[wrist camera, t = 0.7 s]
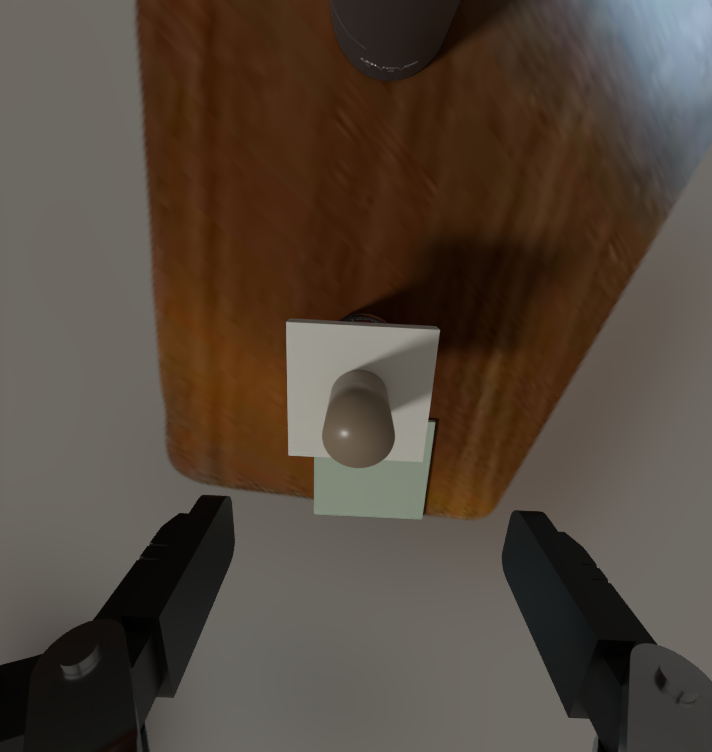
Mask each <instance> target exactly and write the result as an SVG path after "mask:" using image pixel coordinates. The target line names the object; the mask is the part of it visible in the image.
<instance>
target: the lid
mask: <svg viewBox="0 0 712 752" xmlns="http://www.w3.org/2000/svg"><path fill="white" fill-rule="evenodd" d="M439 334H440V329H439V328H438V327H437V326H423V325H403V324H384V323H365V322H345V321H326V320H307V319H289V320H288V321H287V322H286V342H287V400H288V455H291V456H310V457H330V458H333V459H334V460H335V461H337V462H338V463H340V464H342V465H344V466H347V467H351V468H366V467H370V466H373V465H376V464H378V463H379V462H381V461H382V460H390V461H410V462H423V456H424V448H425V441H426V433H427V426H428V418H429V410H430V403H431V395H432V388H433V380H434V372H435V365H436V357H437V349H438V342H439Z"/></svg>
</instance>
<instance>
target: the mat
mask: <svg viewBox="0 0 712 752" xmlns="http://www.w3.org/2000/svg"><path fill="white" fill-rule="evenodd" d="M434 429H435V420H428V426H427V433H426V441H425V448H424V456H423V462H410V461H390V460H382V461H381V462H379V463H378V464H376V465H373V466H370V467H366V468H351V467H347V466H344V465H342V464H340V463H338V462H337V461H335V460H334V459H333V458H330V457H314V514H322V515H343V516H344V515H345V516H363V517H386V518H405V519H422V516H423V509H424V502H425V494H426V487H427V480H428V473H429V465H430V458H431V451H432V443H433V436H434Z"/></svg>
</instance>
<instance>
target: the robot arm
mask: <svg viewBox="0 0 712 752" xmlns="http://www.w3.org/2000/svg"><path fill="white" fill-rule="evenodd" d="M459 3H460V0H330V7H331V14H332V21H333V28H334V31H335V34H336V37H337V40H338V43H339V45H340V47H341V48H342V50H343V52H344V54H345V56H346V57H347V58H348V59H349V61H350V62H351V63H352V64H353V65H354V66H355V67H356V68H357V69H359V70H360V71H361V72H362V73H364V74H366V75H368V76H370V77H372V78H374V79H379V80H384V81H394V80H401V79H404V78H407V77H410V76H412V75H414V74H415V73H417V72H418V71H420V70H422V69H423V68H424V67H425V66H426V65H427V64H428V63H429V62H430V61H431V60H432V59H433V58H434V56H435V55H436V53H437V52H438V50H439V49H440V47H441V45H442V43H443V41H444V39H445V37H446V35H447V32H448V30H449V27H450V25H451V22H452V20H453V17H454V15H455V12H456V10H457V8H458V5H459ZM234 537H235V536H234V523H233V511H232V501H231V498H230V497H229V496H215V495H202V496H201V497H200V498H199V499H198V500H197V502H196V504H195V505H194V507H193V508H192V509H191V511H190V512H189V514H186V513H179V514H178V515H177V516H175V517H174V518H172V519H171V520H170V521H168V522H167V523H166V524H164V525H163V526H162V527H161V528H160V530H159V531H158V532H157V534H156V535H155V536H154V538H153V539H152V541H151V542H150V545H149V546H147V547H146V549H145V550H144V551H143V553H142V554H141V556H140V559H139V560H137V561H136V562H135V564H134V565H133V567H132V568H131V569H130V571H129V572H128V573H127V575H126V576H125V577H124V579H123V580H122V582H121V583H120V584H119V586H118V587H117V588H116V590H115V591H114V593H113V594H112V595H111V596H110V598H109V599H108V601H107V602H106V603H105V605H104V606H103V607H102V609H101V610H100V612H99V613H98V614H97V616H96V617H95V618H94V619H93V620H92V621H88V622H86V623H83V624H81V625H79V626H76V627H75V628H73V629H71V630H69V631H68V632H66V633H65V634H63V635H62V636H61V637H59V638H58V639H57V640H56V641H55V642H53V643H52V644H51V645H50V646H49V647H48V649H46V650H45V652H44V653H43V654H40V655H37V656H34V657H30V658H26V659H22V660H18V661H15V662H11V663H7V664H3V665H0V752H150V748H149V741H148V734H147V727H146V721H145V720H146V717H147V715H148V713H149V711H150V709H151V707H152V704H153V702H154V700H155V698H156V697H169V698H173V697H174V696H175V693H176V691H177V689H178V686H179V684H180V682H181V679H182V677H183V674H184V672H185V670H186V667H187V665H188V663H189V660H190V658H191V656H192V653H193V651H194V648H195V646H196V644H197V641H198V639H199V637H200V634H201V632H202V629H203V627H204V625H205V622H206V620H207V618H208V615H209V612H210V610H211V608H212V606H213V603H214V601H215V599H216V596H217V594H218V592H219V589H220V587H221V584H222V582H223V580H224V577H225V575H226V573H227V570H228V568H229V566H230V563H231V560H232V557H233V551H234V545H235V538H234ZM502 565H503V571H504V574H505V577H506V579H507V582H508V584H509V586H510V588H511V591H512V593H513V595H514V597H515V599H516V602H517V604H518V606H519V608H520V611H521V613H522V615H523V617H524V619H525V622H526V624H527V626H528V628H529V631H530V633H531V635H532V637H533V640H534V642H535V644H536V646H537V648H538V651H539V652H540V655H541V657H542V659H543V662H544V664H545V666H546V668H547V671H548V673H549V675H550V677H551V680H552V682H553V684H554V686H555V689H556V691H557V693H558V695H559V697H560V700H561V702H562V704H563V706H564V709H565V711H566V713H567V715H568V717H569V718H586V719H590V721H591V723H592V725H593V727H594V729H595V731H596V735H595V738H594V741H593V748H592V752H712V681H711V680H710V679H709V678H708V677H707V676H706V675H705V674H704V673H703V672H702V671H701V670H700V669H699V668H698V667H696V666H695V665H694V664H692V663H691V662H690V661H688V660H687V659H686V658H684V657H683V656H681V655H679V654H677V653H676V652H674V651H672V650H670V649H667V648H665V647H662V646H659V645H657V643H656V642H655V641H654V640H653V638H652V637H651V636H650V634H649V633H648V632H647V631H646V629H645V628H644V626H643V625H642V624H641V623H640V621H639V620H638V619H637V617H636V616H635V615H634V613H633V612H632V611H631V609H630V608H629V607H628V605H627V604H626V603H625V602H624V600H623V599H622V598H621V596H620V595H619V594H618V592H617V591H616V590H615V588H614V587H613V586H612V584H611V583H608V579H607V578H606V577H605V575H604V574H603V573H602V571H601V570H600V569H599V568H597V566H596V563H595V562H594V561H593V559H592V558H591V557H590V556H589V554H588V553H587V551H586V550H585V549H584V548H583V547H582V546H581V545H580V544H578V543H577V542H576V541H575V540H574V539H572V538H571V537H570V536H569V535H567V534H566V533H565V532H558V531H557V529H556V528H555V527H554V525H553V524H552V522H551V521H550V520H549V518H548V517H547V516H546V514H545V513H543V512H539V511H518V510H515V511H513V512H512V514H511V517H510V521H509V525H508V529H507V534H506V538H505V543H504V547H503V552H502Z"/></svg>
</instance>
